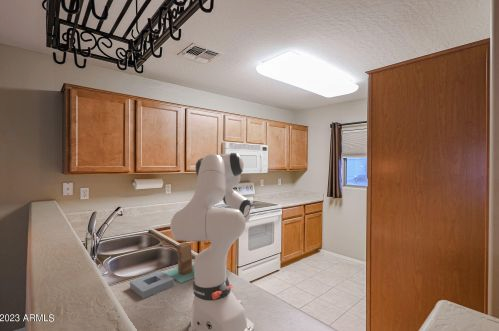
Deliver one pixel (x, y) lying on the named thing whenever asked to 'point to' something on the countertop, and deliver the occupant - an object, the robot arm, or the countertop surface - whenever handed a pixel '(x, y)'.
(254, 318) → the countertop surface
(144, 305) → the countertop surface
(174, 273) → the teal mat
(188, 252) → the walnut peg
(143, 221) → the countertop surface
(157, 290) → the socket block
